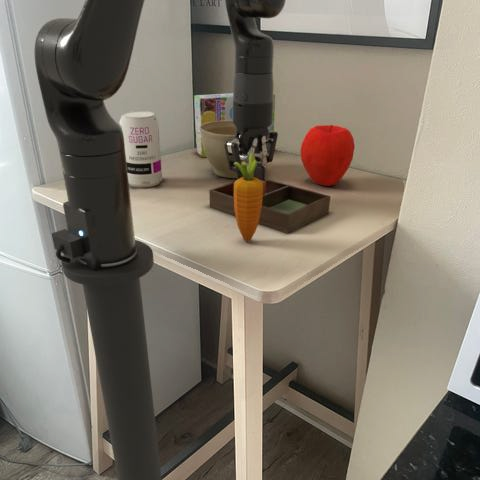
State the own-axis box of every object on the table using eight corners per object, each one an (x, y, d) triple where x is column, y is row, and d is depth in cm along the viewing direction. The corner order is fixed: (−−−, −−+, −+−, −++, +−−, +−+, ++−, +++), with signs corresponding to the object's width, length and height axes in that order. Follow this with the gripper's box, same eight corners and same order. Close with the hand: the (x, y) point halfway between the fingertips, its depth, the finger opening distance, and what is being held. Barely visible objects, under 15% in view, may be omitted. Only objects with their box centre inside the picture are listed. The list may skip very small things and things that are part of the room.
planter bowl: (245, 187, 113) (246, 138, 107) (188, 175, 120) (186, 128, 114) (278, 170, 125) (280, 125, 119) (224, 160, 132) (224, 117, 126)
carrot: (245, 250, 85) (247, 162, 77) (227, 241, 88) (227, 155, 80) (266, 243, 88) (270, 157, 80) (248, 234, 91) (250, 150, 83)
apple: (293, 189, 113) (298, 127, 105) (303, 174, 122) (308, 117, 115) (345, 195, 110) (354, 132, 103) (351, 179, 119) (360, 121, 112)
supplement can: (150, 175, 120) (144, 109, 112) (169, 183, 115) (164, 115, 107) (120, 181, 116) (111, 113, 107) (138, 190, 110) (131, 119, 102)
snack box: (265, 146, 145) (267, 90, 136) (273, 151, 140) (276, 93, 132) (195, 152, 138) (193, 93, 130) (201, 158, 134) (200, 97, 125)
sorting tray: (287, 233, 92) (288, 215, 90) (209, 207, 103) (209, 190, 101) (328, 213, 101) (330, 196, 99) (253, 191, 111) (253, 175, 109)
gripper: (261, 91, 100) (258, 176, 109) (212, 100, 91) (213, 192, 100) (291, 96, 96) (286, 183, 105) (243, 106, 86) (241, 201, 96)
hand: (250, 187), depth 102 cm, fingers open, 4 cm apart
